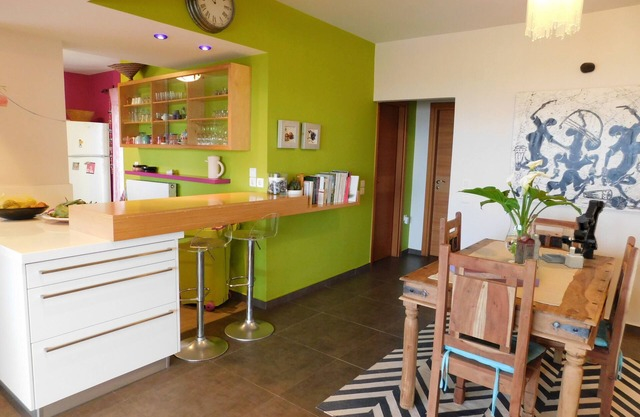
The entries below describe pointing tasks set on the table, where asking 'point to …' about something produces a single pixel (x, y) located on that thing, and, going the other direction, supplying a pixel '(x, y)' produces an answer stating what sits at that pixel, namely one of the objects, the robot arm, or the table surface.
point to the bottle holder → (553, 258)
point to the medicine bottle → (574, 258)
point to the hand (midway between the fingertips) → (575, 252)
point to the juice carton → (524, 248)
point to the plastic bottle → (536, 246)
